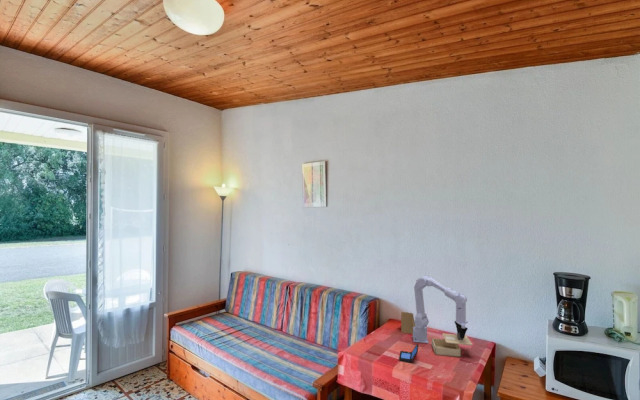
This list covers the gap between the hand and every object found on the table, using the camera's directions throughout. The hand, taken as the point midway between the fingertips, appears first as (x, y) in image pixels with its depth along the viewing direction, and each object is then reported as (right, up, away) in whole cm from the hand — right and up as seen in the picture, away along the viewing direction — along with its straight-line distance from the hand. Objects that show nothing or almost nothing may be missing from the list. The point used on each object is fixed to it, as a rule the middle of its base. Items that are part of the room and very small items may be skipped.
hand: (460, 335), depth 201 cm
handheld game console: (-35, -10, -8) cm, 38 cm away
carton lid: (-2, -3, 0) cm, 4 cm away
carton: (-9, -10, +2) cm, 14 cm away
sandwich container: (-23, -11, +37) cm, 45 cm away
